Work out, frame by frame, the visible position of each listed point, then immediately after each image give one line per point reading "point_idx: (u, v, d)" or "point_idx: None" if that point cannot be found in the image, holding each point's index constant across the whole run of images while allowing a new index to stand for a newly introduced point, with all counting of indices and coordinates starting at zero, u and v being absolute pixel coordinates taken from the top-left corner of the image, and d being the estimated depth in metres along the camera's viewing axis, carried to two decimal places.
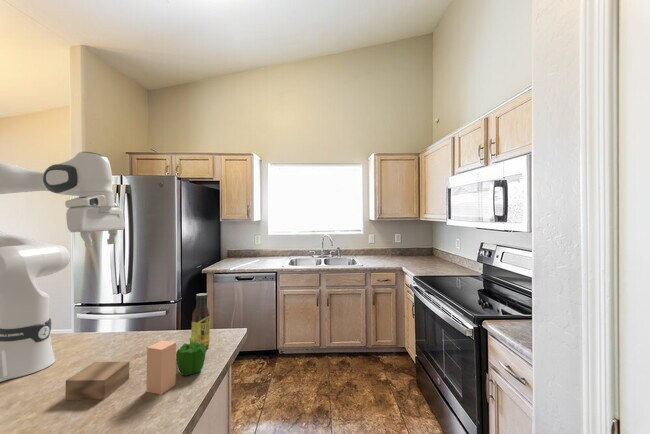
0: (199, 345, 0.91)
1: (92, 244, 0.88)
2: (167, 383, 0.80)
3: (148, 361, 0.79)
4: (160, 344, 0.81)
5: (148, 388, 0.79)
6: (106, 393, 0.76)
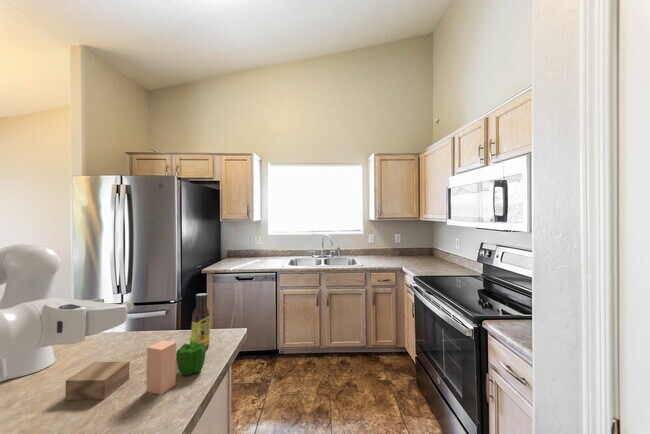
0: (199, 345, 0.91)
1: (130, 302, 0.67)
2: (167, 383, 0.80)
3: (148, 361, 0.79)
4: (160, 344, 0.81)
5: (148, 388, 0.79)
6: (106, 393, 0.76)
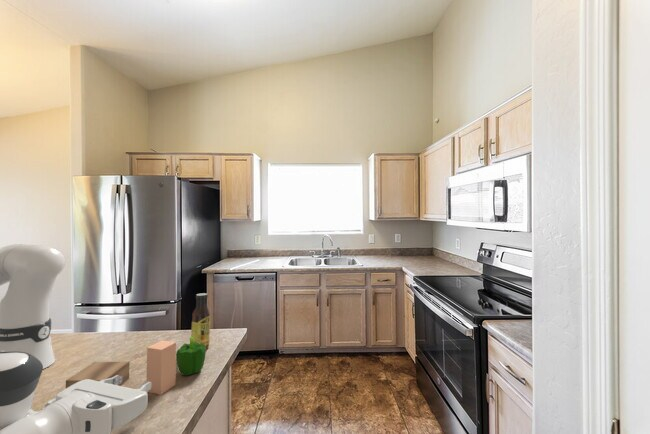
0: (199, 345, 0.91)
1: (148, 382, 0.71)
2: (167, 383, 0.80)
3: (148, 361, 0.79)
4: (160, 344, 0.81)
5: None
6: None
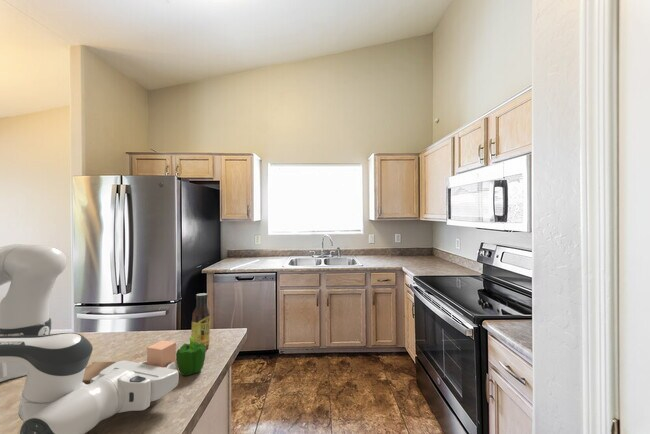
0: (199, 345, 0.91)
1: (172, 362, 0.81)
2: None
3: (148, 361, 0.79)
4: (160, 344, 0.81)
5: None
6: None
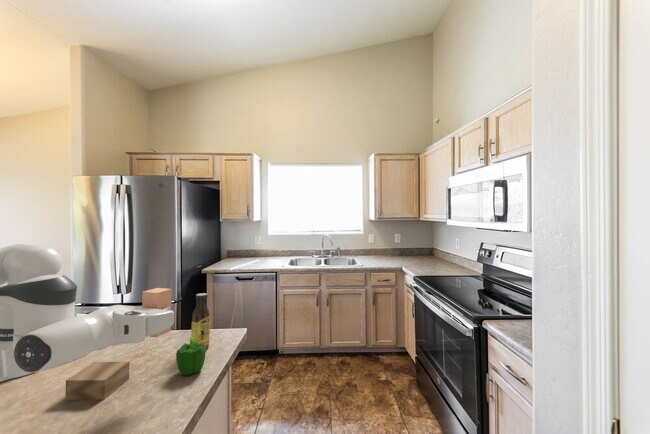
0: (199, 345, 0.91)
1: (168, 307, 0.81)
2: None
3: (144, 305, 0.79)
4: (156, 290, 0.82)
5: None
6: (106, 393, 0.76)
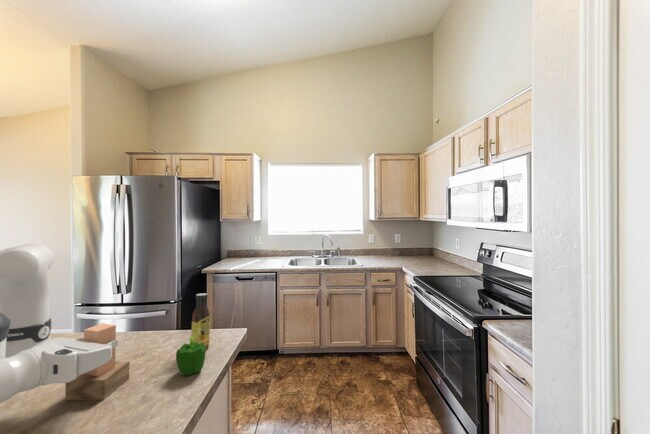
0: (199, 345, 0.91)
1: (115, 340, 0.80)
2: (105, 365, 0.80)
3: None
4: (99, 326, 0.81)
5: None
6: (106, 393, 0.76)
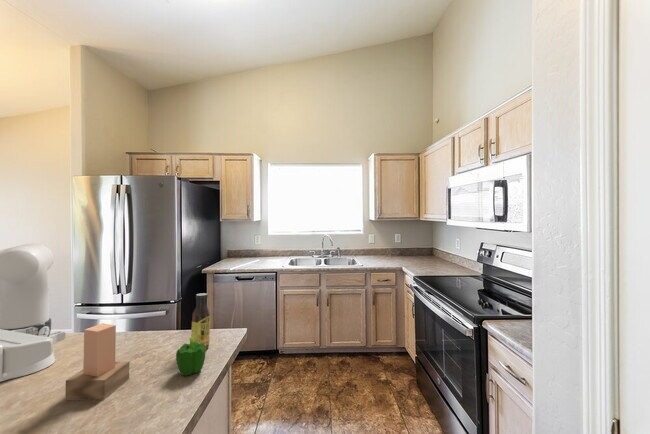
0: (199, 345, 0.91)
1: (61, 332, 0.67)
2: (105, 365, 0.80)
3: (85, 343, 0.79)
4: (99, 326, 0.81)
5: (85, 370, 0.79)
6: (106, 393, 0.76)
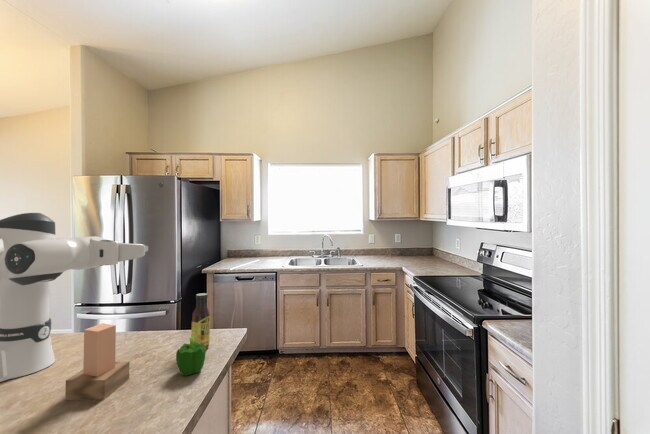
0: (199, 345, 0.91)
1: None
2: (105, 365, 0.80)
3: (85, 343, 0.79)
4: (99, 326, 0.81)
5: (85, 370, 0.79)
6: (106, 393, 0.76)
